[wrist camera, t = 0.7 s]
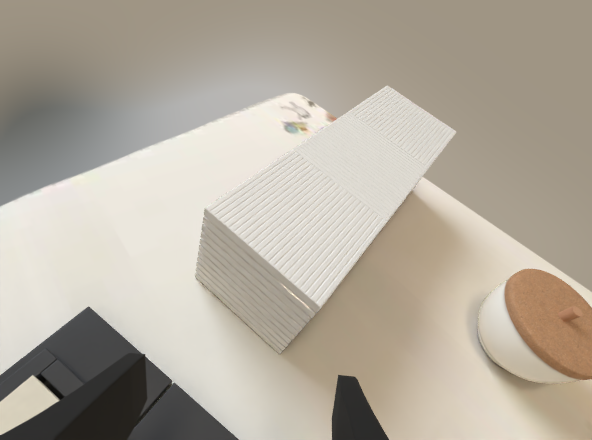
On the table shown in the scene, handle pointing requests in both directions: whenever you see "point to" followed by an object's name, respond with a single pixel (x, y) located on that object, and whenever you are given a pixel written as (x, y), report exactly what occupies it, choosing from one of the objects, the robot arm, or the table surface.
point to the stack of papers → (314, 213)
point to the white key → (25, 403)
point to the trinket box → (537, 328)
